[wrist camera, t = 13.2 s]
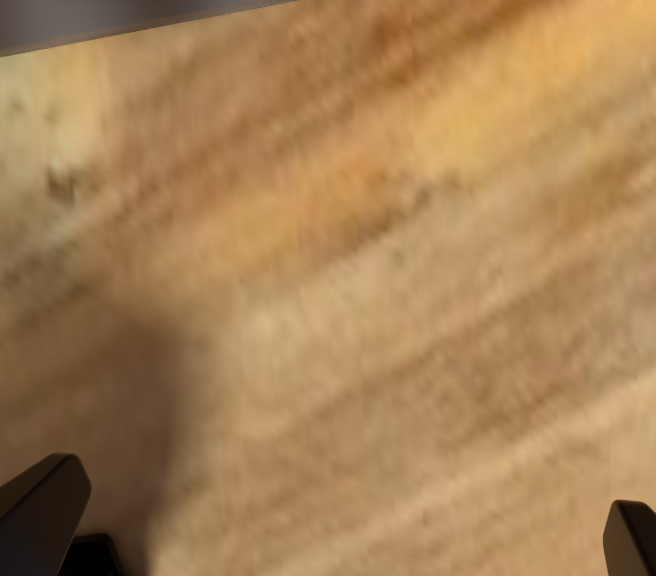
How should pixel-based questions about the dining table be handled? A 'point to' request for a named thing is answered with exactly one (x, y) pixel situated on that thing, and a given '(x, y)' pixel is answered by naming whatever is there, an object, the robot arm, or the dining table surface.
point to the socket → (99, 19)
